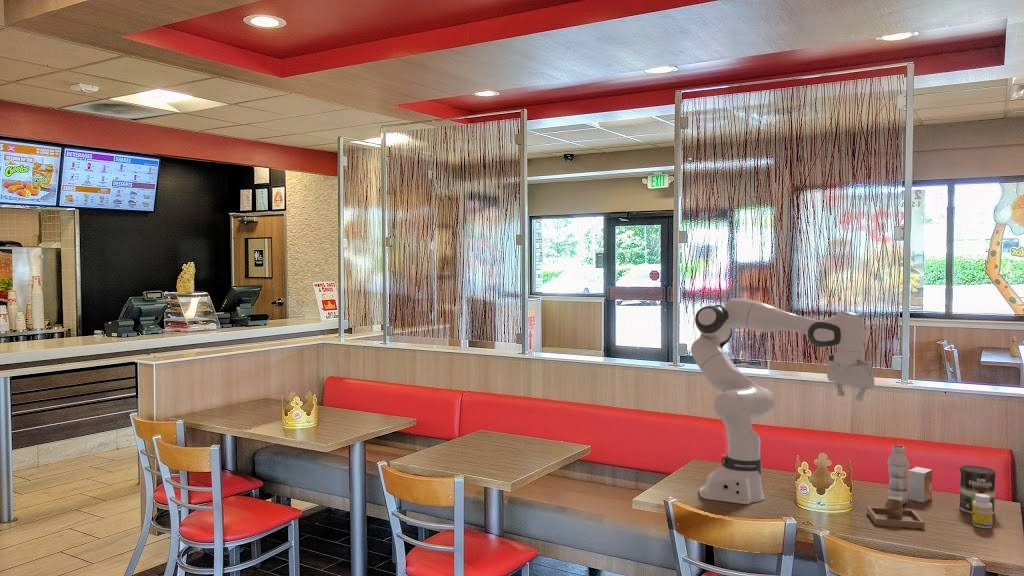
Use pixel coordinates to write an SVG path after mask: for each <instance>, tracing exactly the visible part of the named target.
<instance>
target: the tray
mask: <svg viewBox="0 0 1024 576" xmlns="http://www.w3.org/2000/svg"><path fill="white" fill-rule="evenodd" d="M866 514H867V515H868V516H869V518H870V519H871V520H872V522H873V523H874V524H875V526H880V527H889V528H890V527H891V528H902V527H908V528H907V529H915V528H923V529H922V530H925V529H926V528H925V521H924V520H923V519H922V518H921V517H920V516H919V514H917V512H916V511H914V510H913V509H906V508H902V520H897V519H887V507H878V506H877V507H876V506H867V507H866Z"/></svg>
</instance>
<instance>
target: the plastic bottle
mask: <svg viewBox="0 0 1024 576" xmlns="http://www.w3.org/2000/svg"><path fill="white" fill-rule="evenodd" d="M891 452H892V453H891V454H890V455H889V456H888V458H887V466H888V478H889V479H888V480H889V481H888V489H887V493H886V495H887V496H886V497H887V498H888V496H889V495H890V496H897V497H903V505H905V504H907V503H908V501H909V500H908V499H909V495H908V470H909V465H910V462H909V460H908V458H907V456H906V455H905V453H906V451H905V446H904V445H899V444H897V445H896V444H893V445H892V449H891Z"/></svg>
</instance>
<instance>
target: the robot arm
mask: <svg viewBox="0 0 1024 576" xmlns="http://www.w3.org/2000/svg"><path fill="white" fill-rule="evenodd" d="M694 321H695V326H696V328H697V329H698V331H699V332H700V336H699V338H698V339H695V340H694V342H692V344H691V347H690V353H691V355H692V357H693V360H694V361H695V364H696V366H698V368H699V369H700V371H701V372H702V374H703V375H704V376H705V378H706V379H707V381H708V382H709V383H710V384H711V386H712V387H713V388H714V389H716V390H718V391H720V392H721V393H719V394H718V395H716V396H715V398H714V401H713V410H714V413H715V414H716V416H717V417H718V418H719V419H720V420H721V421H722V422H723V424H724V427H725V431H726V433H727V455H726V454H723V453H722V454H721V455H720V457H719V458H720V460H721V466H719V467H718V468H716V469H715V470H713V471H712V472H710V473H709V474H708V476H707V478H706V480H705V485H702V486H700V487H699V491H698V492H699V496H700V497H701V498H702V499H705V500H712V501H720V502H727V503H734V504H740V505H741V504H742V505H743V504H744V505H750V504H752V503H757V502H761V501H763V500H764V499H765V494H764V492H763V486H762V480H761V475H762V469H763V468H762V466H763V465H762V463H763V462H762V458H761V437H760V435H759V434H758V433H757V432H756V430H755V431H754V428H753V424H752V419H755V418H761V417H764V416H765V415H768V414H769V413H770V412H772V411H773V409H774V407H775V397H774V395H773V393H772V392H771V390H769V389H767V388H765V387H763V386H761V385H758V384H757V383H755V381H752V379H750V378H749V377H747V375H745V374H744V373H742V372H741V371H740V369H739V368H738V367H737V366H736V365H735V363H734V362H733V361H732V360H731V359H730V358H729V356H728V355H727V353H726V352H725V351H724V349H723V347H724V346H725V345H727V344H728V343H729V342H730V340H731V339H732V336H733V330H732V328H742V329H743V328H744V329H746V330H749V331H753V332H761V333H772V332H783V331H784V332H785V331H786V332H787V331H788V332H794V333H797V334H803V335H807V338H808V340H809V341H810V343H811V344H812V345H814V346H815V347H818V348H823V349H824V348H825V349H826V348H830V347H836V352H834V353H830V354H828V355H827V357H826V358H827V362H828V363H827V365H826V366H827V367H826V377H827V379H828V381H829V382H832V383H834V385H835V388H836V390H837V396H839V397H845V393H846V392H845V390H844V389H843V385H845V386H851V387H855V388H857V391H858V392H857V394H856V395H855V400H856V401H859V402H862V401H864V396H865V393H866V391H867V390H873V388H874V387H875V374H874V369H873V365H872V364H871V363H870V362H869V361H867V360H866V361H865V358H866V357H865V356H866V355H865V354H866V353H865V352H866V350H865V346H864V345H865V344H864V341H865V339H866V338H865V337H866V329H865V327H866V326H865V320H864V317H863V316H862V315H861V314H859V313H857V312H853V311H845V310H844V311H839V312H838V313H837V314H835V315H833V316H830V317H828V318H824V319H815V318H811V317H807V316H803V315H798V314H795V313H792V312H791V313H790V312H787V311H785V310H782V309H781V308H777V307H775V306H773V305H770V304H768V303H766V302H761V301H759V300H754V299H753V300H752V299H748V298H737V297H734V298H731V299H729V300H727V301H726V302H725V304H724V305H722V304H716V305H706V306H703V307H701V308H700V309H698V310H697V312H696V314H695V317H694Z"/></svg>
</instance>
